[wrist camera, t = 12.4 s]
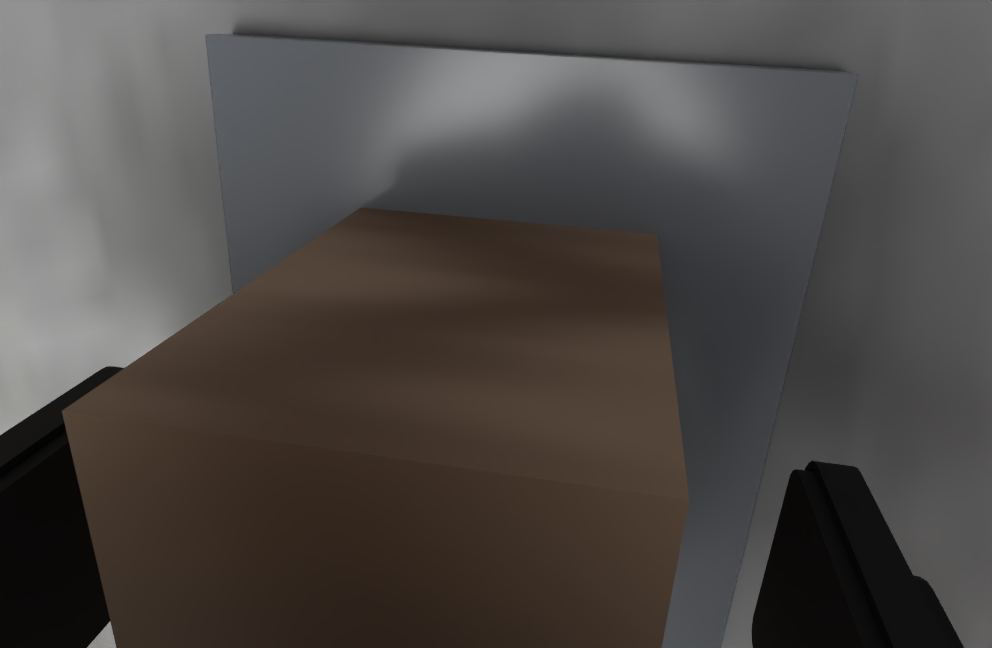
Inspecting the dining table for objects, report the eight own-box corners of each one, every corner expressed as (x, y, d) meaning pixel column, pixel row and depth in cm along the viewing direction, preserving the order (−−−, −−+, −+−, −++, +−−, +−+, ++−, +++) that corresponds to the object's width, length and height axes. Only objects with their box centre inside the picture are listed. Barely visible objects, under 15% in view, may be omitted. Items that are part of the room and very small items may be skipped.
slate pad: (843, 70, 11) (858, 74, 10) (709, 648, 16) (712, 679, 15) (230, 34, 12) (205, 34, 11) (281, 574, 17) (265, 598, 16)
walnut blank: (657, 234, 11) (689, 500, 5) (610, 571, 14) (592, 1014, 8) (360, 207, 12) (61, 409, 6) (371, 533, 15) (177, 912, 9)
